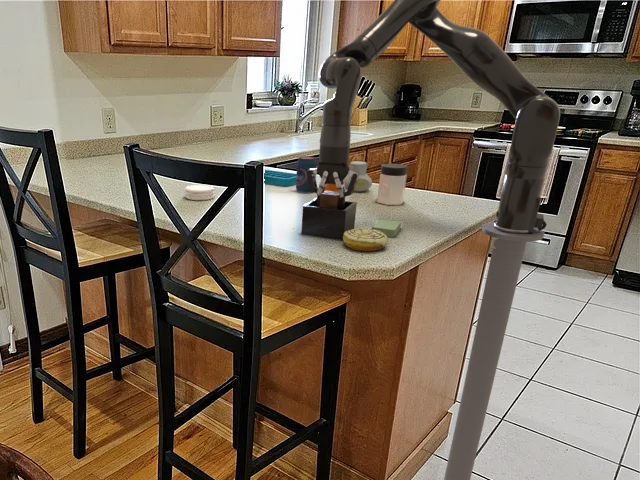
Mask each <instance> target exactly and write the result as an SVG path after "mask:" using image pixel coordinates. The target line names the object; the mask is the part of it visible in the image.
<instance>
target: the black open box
mask: <svg viewBox="0 0 640 480" xmlns="http://www.w3.org/2000/svg"><path fill="white" fill-rule="evenodd" d="M357 203H358V202H357V201H349V200H345V207H344V208H343V209H342V210H340V209H331V208H323V207H317V197H314V198H313V199H312V200H310V201H308V202H306V203H304V205H302V216H301V236H309V237H316V238H324V239H331V240H332V239H333V240H337V241H344V240H343V235H344V233H345V232H346V231H348V230H351V229H355V225H356V214H357V205H358V204H357Z"/></svg>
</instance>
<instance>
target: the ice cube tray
mask: <svg viewBox="0 0 640 480" xmlns="http://www.w3.org/2000/svg"><path fill="white" fill-rule="evenodd" d="M264 169H265V168H264ZM296 175H297V173H294V172H286V171H279V170H273V169H272V170H271V169H265V173H264V179H265V181H264V183H263V184H266V185H271V186H272V185H273V186H279V187H290V186H293V185H296Z"/></svg>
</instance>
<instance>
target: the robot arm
mask: <svg viewBox="0 0 640 480" xmlns="http://www.w3.org/2000/svg"><path fill="white" fill-rule="evenodd" d="M440 2H441V0H393V1H392V2H391V3H390V5H388V7H387V8H385V10H384V11H383V12H382V13H381V14H380V15H379V16H378V17H376V19H374V21H372V22H371V23H370V24H369V25H368V26H367V27H366V28H364V29H363V31H362V32H361V33H359V34H358V35H357V36H356V37H355V38H354V39H353V40H352V41H351V42H350V43H348V44H346V45H345V46H343V47H341V48H339V49H338V50H337V51H335V52H333V53H331V55H329V56H328V57H326V59H325V60H324V61H323V62H322V64H321V65H320V68H319V71H318V79H319V81H320V84H321V85H322V86H323V87H325V88H327V89H331V90H332V89H333V90H334V89H336V90H335V93H334V94H333V98H331V99H328V100H326V101H325V102H324V103H323V108H322V120H321V121H322V123H321V129H320V130H321V131H320V138H319V154H318V155H319V156H318V164H317V166H316V168H315V169H309V170H308V171H307V176H308V181H309V186H310V191H311V193H314V194H315V195H316V198H317V207H320V194H321V193H323V192H324V190H325V188H326V186H327V184H334V185H336V187H337V190H338V193H339V199H338V209H340V210H342V209H343V208H344V207H345V201H346V197H349V196H351V195H353V193H354V192H353V191H354V188H355V186H356V183H357V180H358V178H359V175H360V174H359V173H358V172H356V173H355V172H352V171H350V166H349V159H350V149H351V148H350V147H351V136H352V132H351V125H352V112H353V111H352V110H353V106H354V103H355V100H356V98H357V94H358V92H359V88H360V85H361V83H362V82H361V81H362V76H363V75H362V73H363V72H362V69H363V68H367V67H369V66H370V65H371V64H373V63H374V61H376V60H377V59H378V58H379V57H380V56H381V55H382V54H383V53H384V52H385V51H386V50H387V49H389V47H390V45H392V43H393V42H394V41H395V40H396V38H397V37H398V35H399V34H401V32H402V31H403V29H404V28H405V27H406V25H407V24H409V25H411V26H412V27H414V28H415V29H416V30H418V31H419V32H420V33H421V34H423V36H425V37H426V38H428V39H429V40H430V41H431V42H432V43H434V45H435V46H437V47H438V49H440V50H441V51H442V52H443V53H444V54H445V55H446V56H447V57H448V58H449V59H450V60H451V61H452V62H453V63H454V64H455V65H456V66H457V67H458V68H459V70H461V71H462V72H463V74H465V75H466V77H467V78H469V79H470V80H471V81H472V82H473V83H475V84H476V85H477V86H479V88H480V89H482V90H484V91H485V92H487V93H488V94H489V95H491V96H492V97H494V98H495V99H497V100H498V102H500V103H501V104H502V105H503V106H504V107H505V108H506V109H507V111H509V113H510V114H511V116H513V118H514V119H515V123H514V127H513V132H512V136H511V137H512V138H511V143H510V148H509V153H508V160H507V165H506V169H505V174H504V179H503V182H502V183H503V184H502V188H501V193H500V198H499V203H498V207H497V211H496V214H495V221H494V222H495V224H494V228H495V229H497V230H499V231H502V232H506V233H512V234H533V230H534V228H538V230H539V231H540V230H542V231H543V230H544V229H546V227H547V222H546V221H545V218H544V214H543V213H539V209H540V206H541V205H540V204H541V200H542V193H543V188H544V185H545V180H546V176H547V172H548V168H549V164H550V161H551V156H552V152H553V148H554V144H555V141H556V137H557V133H558V128H559V124H560V119H561V108H560V106H559V104H558V102H556V101H555V99H553V98H551V97H549V95H547V94H546V93H544V92H543V91H541V90H540V89H539V88H538V87H537V86H535V85H534V84H533V83H532V82H530V81H529V80H528V79H527V78H526V77H525V76H524V74H523V73H522V72H521V70H520V69H519V68H518V67H517V66H516V64H515V62H514V61H513V60H512V59H511V58H510V56H509V55H508V54H507V53H506V52H505V51H504V49H503V48H502V47H501V46H500V45H499V44H498V43H497V42H496V41H495V40H494V39H493V38H491V36H490V35H489V34H487V33H486V32H485V31H483V30H481V29H478V28H474V27H472V26H471V27H470V26H466V25H461V24H458V23H455V22H453V21H452V20H450V19H448V18H447V17H446V16H445V15H444V14H443V13H442V12H441V11H440V9H438V5H439V4H440ZM347 175H349V180H351V181H350V184H349V186H348V189H345V184H344V179H345V177H346V176H347ZM315 176H316V178H315ZM317 176H319V178H320V182H319V184H317V183H318V182H317Z"/></svg>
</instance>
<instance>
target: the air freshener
mask: <svg viewBox="0 0 640 480" xmlns="http://www.w3.org/2000/svg"><path fill="white" fill-rule="evenodd" d="M367 167H368V163H367V162H366V161H357V160H356V161H355V160H354V161H351V162H350V163H349V169H350V171H352V172H355V173H356V172H358V173H359V174H360V175H359V178H358V180H357V183H356V186H355V188H354V191H353V193H362V192H365V191H367V190H369V189H370V188H371V187H372V185H373V180H372V178H371V177H370V176H369V175H368V174H367V169H368V168H367ZM350 181H351V180H349V175H347V176H346V177H345V179H344V184H345V190H347V189H348V186H349V184H350Z"/></svg>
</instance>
